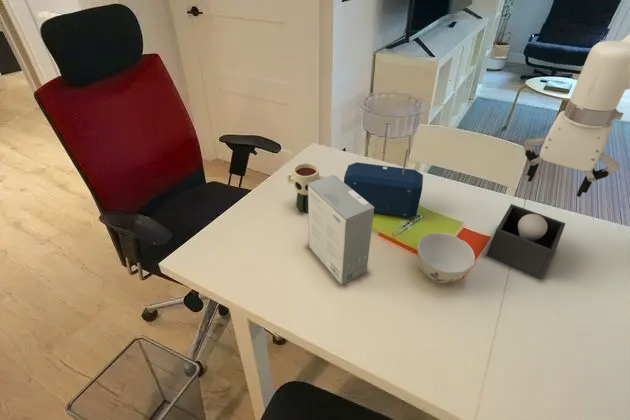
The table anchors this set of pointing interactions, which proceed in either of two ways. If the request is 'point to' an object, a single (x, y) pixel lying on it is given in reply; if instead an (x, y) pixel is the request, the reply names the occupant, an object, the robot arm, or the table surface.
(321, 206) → the hard drive box
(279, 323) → the table surface
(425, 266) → the teacup
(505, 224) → the bin
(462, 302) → the table surface
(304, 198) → the character mug
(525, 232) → the lightbulb
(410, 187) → the radio
